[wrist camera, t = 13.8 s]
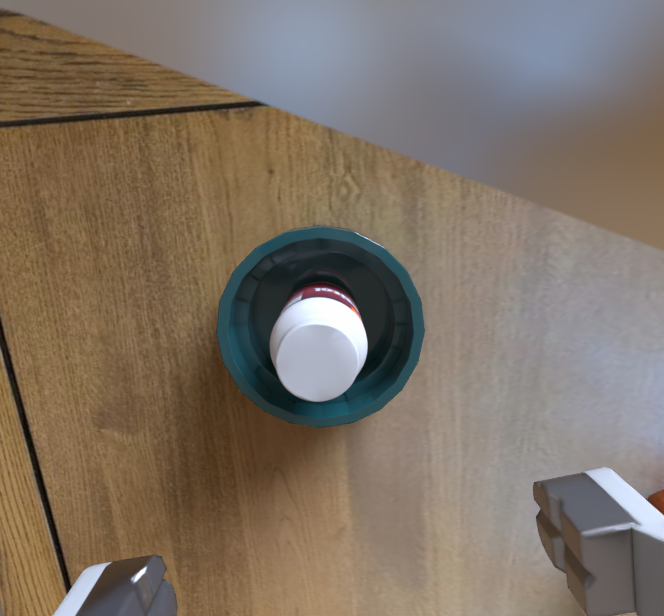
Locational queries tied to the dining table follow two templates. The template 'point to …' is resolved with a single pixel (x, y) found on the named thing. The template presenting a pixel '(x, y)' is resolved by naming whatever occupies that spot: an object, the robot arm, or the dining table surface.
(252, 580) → the dining table surface
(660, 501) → the fruit
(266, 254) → the bowl
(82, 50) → the dining table surface
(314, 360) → the pill bottle
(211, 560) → the dining table surface
